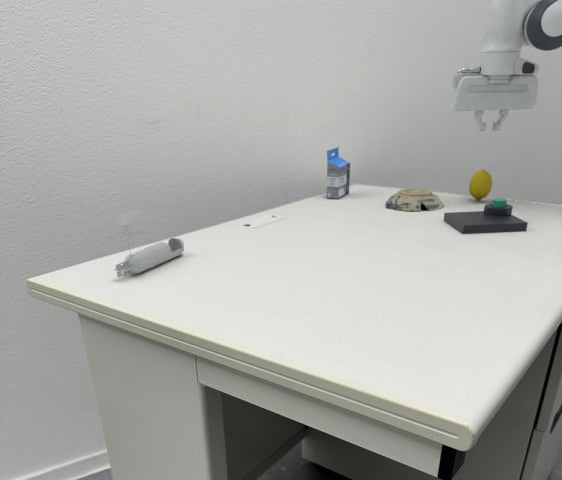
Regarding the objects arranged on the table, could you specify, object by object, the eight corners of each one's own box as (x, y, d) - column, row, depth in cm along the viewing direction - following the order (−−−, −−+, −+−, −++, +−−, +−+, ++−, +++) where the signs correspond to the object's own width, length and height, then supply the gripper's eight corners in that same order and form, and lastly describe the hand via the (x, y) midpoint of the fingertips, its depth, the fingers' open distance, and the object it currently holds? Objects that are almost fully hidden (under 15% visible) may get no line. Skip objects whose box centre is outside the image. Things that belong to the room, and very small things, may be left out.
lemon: (493, 202, 142) (498, 169, 138) (475, 204, 141) (480, 171, 137) (480, 198, 147) (484, 166, 143) (462, 200, 145) (467, 168, 141)
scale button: (502, 205, 125) (503, 197, 124) (507, 208, 122) (509, 200, 121) (489, 206, 125) (490, 198, 124) (494, 209, 122) (496, 201, 121)
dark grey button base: (502, 217, 128) (505, 202, 126) (528, 231, 117) (531, 214, 115) (442, 220, 127) (444, 205, 125) (462, 234, 116) (464, 217, 114)
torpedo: (171, 251, 110) (167, 219, 106) (190, 254, 108) (187, 221, 104) (108, 279, 96) (101, 242, 92) (129, 283, 94) (122, 245, 91)
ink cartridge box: (339, 199, 150) (340, 151, 144) (325, 198, 151) (326, 150, 145) (349, 193, 157) (351, 147, 151) (336, 192, 158) (338, 146, 152)
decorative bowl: (417, 197, 150) (372, 203, 144) (419, 183, 148) (373, 188, 142) (455, 208, 138) (408, 215, 132) (458, 193, 136) (410, 199, 130)
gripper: (460, 67, 125) (452, 133, 132) (546, 65, 126) (533, 130, 133) (450, 67, 131) (443, 130, 138) (532, 65, 132) (521, 128, 139)
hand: (488, 130), depth 135 cm, fingers open, 3 cm apart
